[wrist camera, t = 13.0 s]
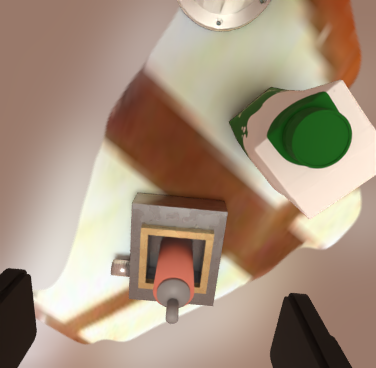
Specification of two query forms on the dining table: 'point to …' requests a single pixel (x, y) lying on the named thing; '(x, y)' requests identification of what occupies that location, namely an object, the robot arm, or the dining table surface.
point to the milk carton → (309, 143)
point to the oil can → (174, 275)
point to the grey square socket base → (174, 227)
